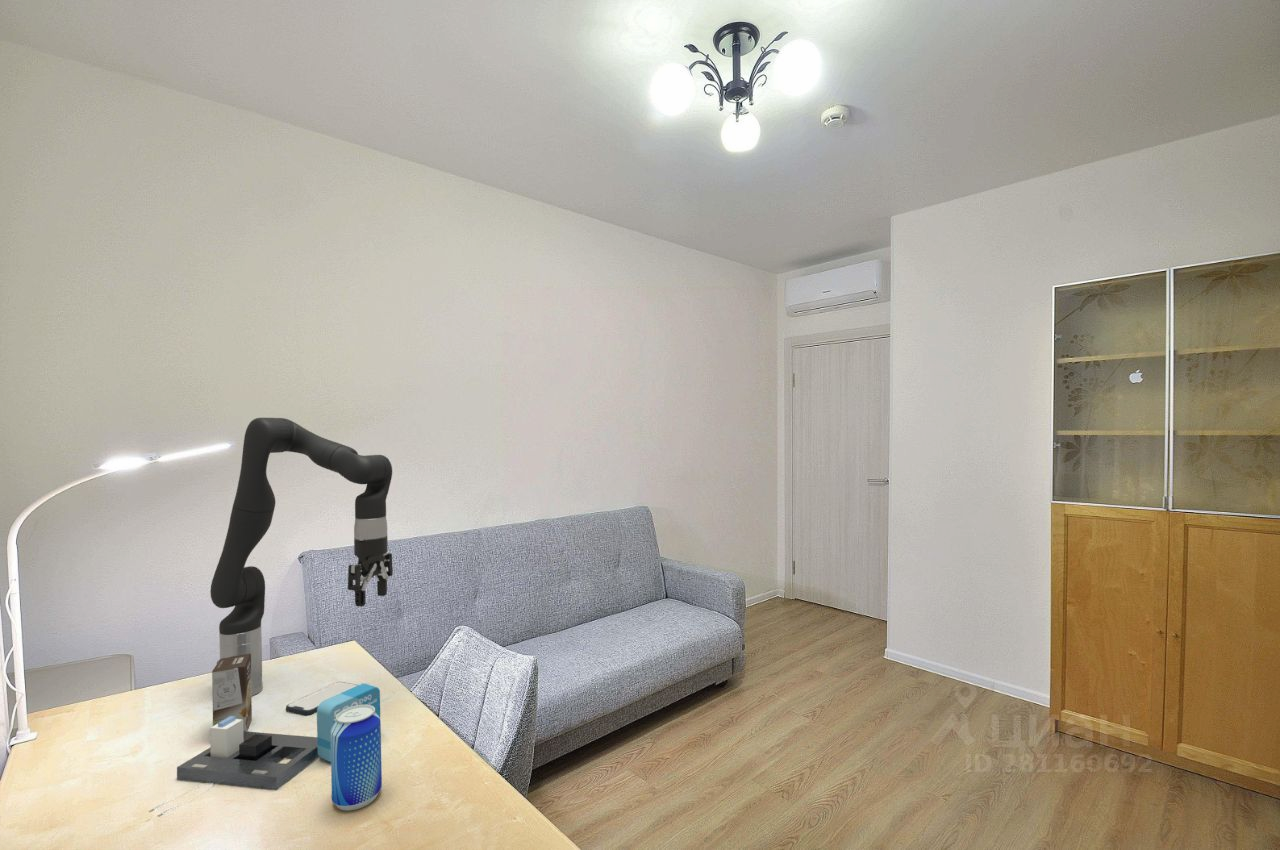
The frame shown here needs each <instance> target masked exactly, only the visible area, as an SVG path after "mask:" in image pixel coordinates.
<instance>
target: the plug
mask: <svg viewBox="0 0 1280 850" xmlns="http://www.w3.org/2000/svg"><path fill="white" fill-rule="evenodd" d="M209 736H210V737H209V740H210V741H209V742H210V747H209V748H210V751H211V757H219V758H228V757H229V756H231V755H233V754H234V753H236V752H237V751H239V744H241V743H242V742H244V738H243V719H235V716H230V717H228V718H226V719H225V720H223V721H221V722H219V723H218V724H216V725H214V726H213V725H212V726H211V727H210V728H209Z"/></svg>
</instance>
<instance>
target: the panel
mask: <svg viewBox="0 0 1280 850" xmlns="http://www.w3.org/2000/svg"><path fill="white" fill-rule="evenodd" d="M243 738H244V742H242V743H241V744H239V751H237V752H236V753H234V754H233V755H231V756H229V757H228V758H219V757H211V751H210V747H209V748H207V749H205V750H204V751H202V752H200V753H199V754H197V755H195V756H193V757H191V758H190V759H188V760H187V761H185V762H183V763H182V764H180V765H179V766H176V780H178V781H184V782H187V781H188V782H195V783H196V782H197V783H203V784H206V783H213V784H214V785H215V784H217V785H225V786H231V787H235V786H236V787H242V788H243V787H245V788H252V789H254V788H255V789H263V790H271V791H272V790H273V791H277V790H279V789H280V788H282V787H283V786H285V784H287V783H288V782H290V780H291V779H293V778H294V777H296V775H298V774H300V773H301V772H302V771H304V769H306V768H307V767H308V766H310V765H311V764H313V763H314V762H315V761H316V760H318V759H319V758H320V757H319V756H318V746H317V736H306V735H295V734H294V735H293V734H285V733H284V734H282V733H271V732H270V733H269V732H259V731H258V732H257V731H249V730H247V731H243ZM284 759H287V760H288V759H290V760H289V761H288V762H286V763H281V761H283V760H284Z"/></svg>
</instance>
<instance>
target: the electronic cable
mask: <svg viewBox="0 0 1280 850" xmlns="http://www.w3.org/2000/svg"><path fill="white" fill-rule="evenodd" d="M205 785H211V787H210V788H208V789H207V790H205V791H203V792H202V793H200V794H198V795H196V796H195V797H192V798H191V799H189V800H187V801H184V802H183V803H180V804H177V805H175V806H172V807H170V808H168V809H166V810H164V811H162V812H160V813H159V814H157V815H156V817H162V816H164V815H166V814H168V813H170V812H172V811H174V810H176V808H179V807H180V806H182V805H184V804H186V803H188V802H189V801H192V800H194V799H196V798H197V797H199V796H201V795H204V794H205V793H207V792H208V791H210V790H211V789H212V788H214V786H215V784H213V783H203V784H201V785H198V786H196V787H194V788H192V789H190V790H188V791H186V792H184V793H182V794H180V795H179V796H177V797H175V798H173V799H170V800H168V801H166V802H165V801H164V802H163V803H160V804H158V805H157V806H155V807H153V808H151V809H150V810H148V813H152V812H153V811H157V810H159V809H161V808H163V807H165V806H167V805H168V804H169V803H171V802H173V801H174V800H177V799H179V798H180V797H182V796H184V795H186V794H188V793H190V792H192V791H194V790H196V789H197V788H201V787H202V786H205Z"/></svg>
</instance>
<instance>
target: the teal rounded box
mask: <svg viewBox="0 0 1280 850" xmlns="http://www.w3.org/2000/svg"><path fill="white" fill-rule="evenodd" d="M357 685H358V686H356V687H353V688H351V689H349V690H347V691H344V692H342V693H340V694H338V695H335V696H333V697H331V698H329V699H326V700H324V701H323V702H321V703H320V704H319V706H318V708H317V712H316V734H317V735H316V737H317V746H318V756H319V758H320V759H322V760H325V761H327V762H330V763H331V728H332V726H333V725H334V723H335V721H336V716H337V714H338V713H340V712H341V711H343V710H345V709H347V708H349V707H353V706H357V705H371V706H373V707H374V708H375V712H376V713H377V715H378V716H379V717H380V718H381V691H380V689H379V687H378V686H374V685H370V684H367V683H360V684H357Z"/></svg>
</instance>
